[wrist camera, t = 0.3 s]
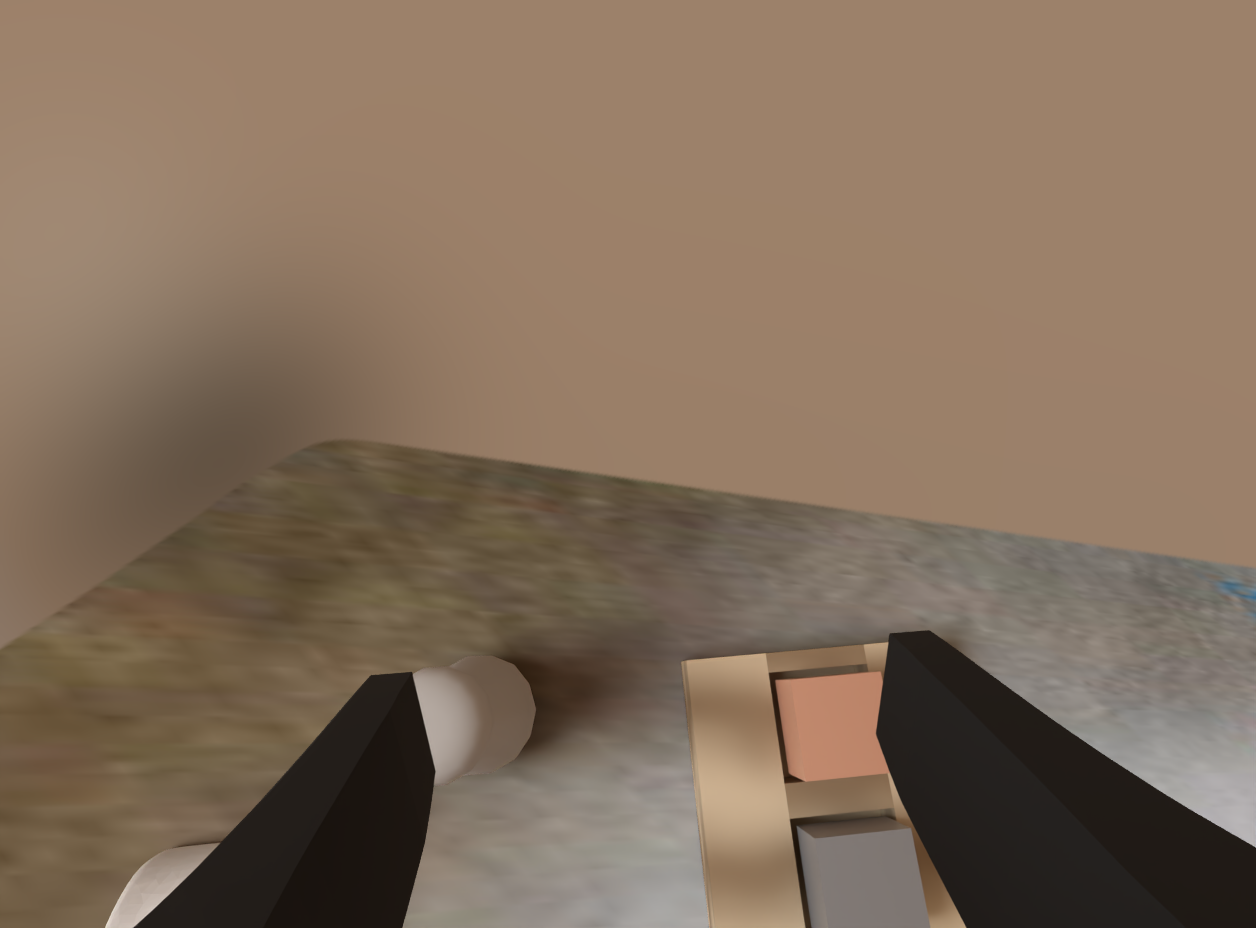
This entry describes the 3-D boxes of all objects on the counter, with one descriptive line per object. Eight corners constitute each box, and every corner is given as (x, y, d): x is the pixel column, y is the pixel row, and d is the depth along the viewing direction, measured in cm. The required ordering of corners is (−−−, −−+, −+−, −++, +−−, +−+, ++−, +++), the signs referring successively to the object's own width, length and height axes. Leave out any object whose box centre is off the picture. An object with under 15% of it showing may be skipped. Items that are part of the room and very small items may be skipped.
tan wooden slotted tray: (1016, 1095, 32) (1052, 1131, 30) (731, 1134, 31) (742, 1175, 29) (919, 640, 39) (941, 637, 36) (680, 661, 38) (686, 660, 35)
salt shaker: (510, 637, 38) (468, 616, 26) (557, 732, 36) (536, 757, 24) (415, 691, 37) (322, 695, 24) (459, 790, 35) (384, 848, 23)
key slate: (904, 920, 32) (933, 943, 30) (812, 931, 32) (832, 955, 29) (885, 816, 34) (911, 828, 31) (796, 825, 34) (814, 838, 31)
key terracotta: (875, 764, 35) (900, 772, 32) (788, 773, 34) (805, 781, 31) (858, 672, 36) (880, 671, 33) (775, 680, 36) (790, 679, 33)
